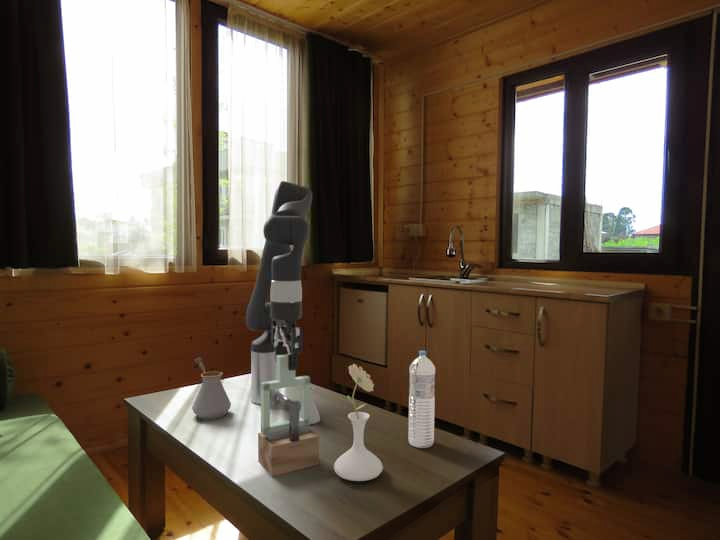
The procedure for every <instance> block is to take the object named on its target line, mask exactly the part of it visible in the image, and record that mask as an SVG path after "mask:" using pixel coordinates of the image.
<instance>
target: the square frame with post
mask: <svg viewBox="0 0 720 540" xmlns="http://www.w3.org/2000/svg"><path fill="white" fill-rule="evenodd" d="M296 371H297V370H292V371H290V370H288V353H285V355H276V380H274V381H267V382H261V404H260V433H261V432H262V433H263V434H264V435H265V436H266V437H267V438H268V439H269V440H273V439H278V438H282V437H287V436H289V419H287V420H283V421H281V420H280V421H276V422H272V423H270V422H271V417H270V416H271V415H270V413H271V409H270V390H272V389H279V390H280V389H284V388H290V387H297V386H300V410H301V418H299V434H301V433H305V432H309V429H310V428H309V426H310V425H311V424H310V387H311V377H310V376H309V375H300V376H296Z"/></svg>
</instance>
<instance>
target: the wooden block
mask: <svg viewBox="0 0 720 540" xmlns="http://www.w3.org/2000/svg"><path fill="white" fill-rule="evenodd" d="M257 435H258V436H257V438H258V439H257V445H258V446H257V448H258V450H257V460H258V461H257V462H260V463H261V464H260V463H259V464H260V465H261V466H262V467H263V468H265V469H266V470H267V471H268V472H269V473H268V472H267V471H266V470H265V469H264V470H265V471H266V472H267V473H268V475H269V476H270V475H271V476H273V477H275V475H277V476H280V475H284V474H287V473H291V472H296V471H299V470H303V469H306V468H310V467H315V466H318V465H319V464H320V461H319V460H320V457H319V456H320V435H318V434H317V433H316V432H315V431H313V429H311V428H309V432H305V433H301V434H299V441H297V442H291V441H289V436H287V437H282V438H278V439H273V440H269V439H268V438H267V437H266V436H265V435H264V434H263V433H262V432H261V431H260V432H258V433H257ZM271 476H270V477H271Z"/></svg>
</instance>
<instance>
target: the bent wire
mask: <svg viewBox="0 0 720 540" xmlns="http://www.w3.org/2000/svg"><path fill="white" fill-rule="evenodd" d="M277 398H279V400H281V401H282V402H284V404H286V405H288V420H289V441H291V442H297V441H299V412H300V401H299V400H294V399H293V400H291V399H290V398H288V397H287V396H286V395H284V394H283V393H281V392H280V390H279V391H276V392H275V393H274V395H273V397H272V399H271V401H270V410H272V408H273V406H274V405H275V403H276V402H275V401H276V399H277Z"/></svg>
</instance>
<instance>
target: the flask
mask: <svg viewBox="0 0 720 540" xmlns="http://www.w3.org/2000/svg"><path fill="white" fill-rule="evenodd" d="M314 391H315V387H314V386H310V425H314V424H317V423H319V422H320V421H321V416H320V413H319V410H318V408H317V405H316V402H315V399H314ZM299 418H301V409H299Z"/></svg>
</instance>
